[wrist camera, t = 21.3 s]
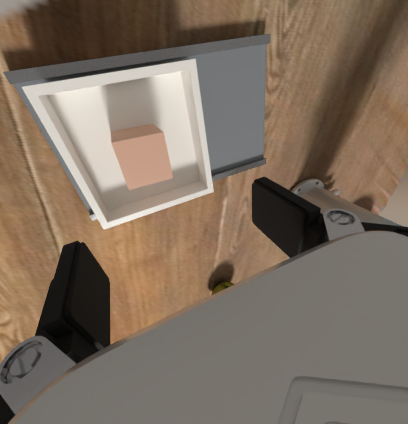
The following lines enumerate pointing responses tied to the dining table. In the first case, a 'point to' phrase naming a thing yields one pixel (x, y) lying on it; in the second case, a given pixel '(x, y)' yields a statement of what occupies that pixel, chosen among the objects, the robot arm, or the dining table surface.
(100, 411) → the robot arm
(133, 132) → the block
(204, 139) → the cart
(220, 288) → the apple
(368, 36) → the dining table surface
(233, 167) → the track
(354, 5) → the dining table surface
